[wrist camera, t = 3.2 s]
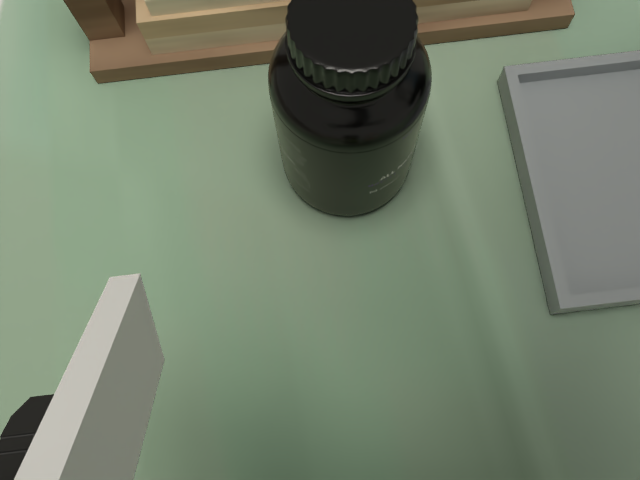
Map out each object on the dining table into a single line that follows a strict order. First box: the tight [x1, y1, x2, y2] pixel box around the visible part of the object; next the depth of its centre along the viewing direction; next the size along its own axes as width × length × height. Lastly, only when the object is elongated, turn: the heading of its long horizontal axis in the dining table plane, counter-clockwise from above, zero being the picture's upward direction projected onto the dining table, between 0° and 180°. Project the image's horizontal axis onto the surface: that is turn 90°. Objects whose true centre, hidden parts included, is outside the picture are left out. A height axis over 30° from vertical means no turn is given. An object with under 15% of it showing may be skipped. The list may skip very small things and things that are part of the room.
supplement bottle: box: [268, 0, 432, 216], centre depth 27 cm, size 7×7×12 cm
